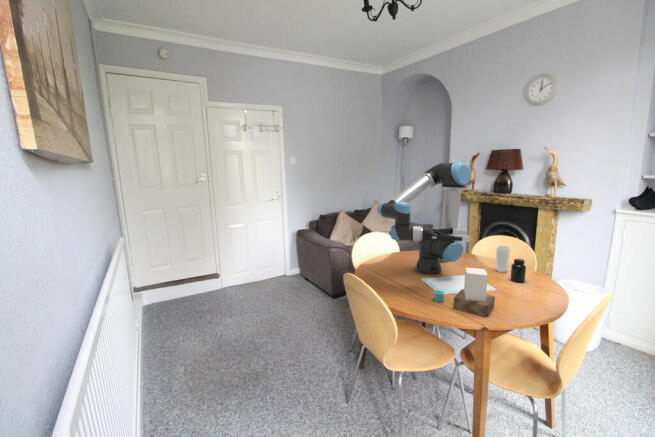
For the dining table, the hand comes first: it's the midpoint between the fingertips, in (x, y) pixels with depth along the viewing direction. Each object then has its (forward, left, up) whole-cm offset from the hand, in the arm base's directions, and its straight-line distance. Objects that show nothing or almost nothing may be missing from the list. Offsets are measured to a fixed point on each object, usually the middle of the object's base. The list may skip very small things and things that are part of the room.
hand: (468, 235), depth 148 cm
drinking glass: (+8, +48, -30) cm, 57 cm away
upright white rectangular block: (+8, -13, -25) cm, 29 cm away
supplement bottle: (+18, +36, -30) cm, 50 cm away
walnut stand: (+8, -13, -30) cm, 33 cm away
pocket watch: (-27, +47, -30) cm, 62 cm away
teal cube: (-7, -15, -30) cm, 34 cm away
